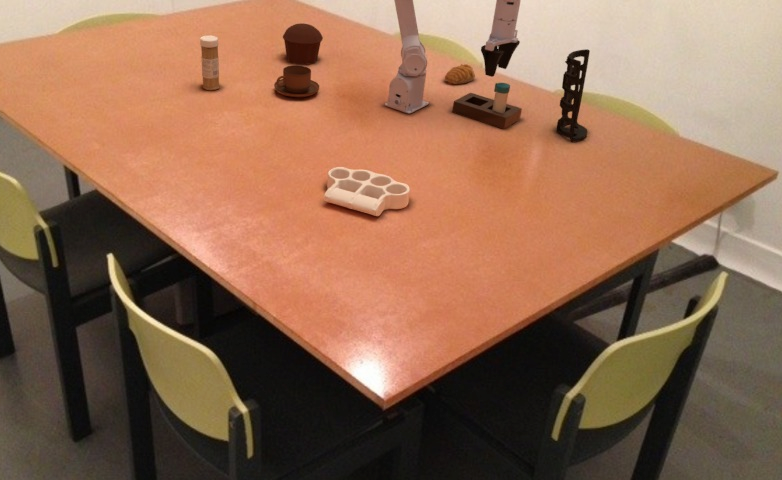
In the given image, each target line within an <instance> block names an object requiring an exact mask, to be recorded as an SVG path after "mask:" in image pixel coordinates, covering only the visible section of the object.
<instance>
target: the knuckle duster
mask: <svg viewBox="0 0 782 480" xmlns="http://www.w3.org/2000/svg"><path fill="white" fill-rule="evenodd" d="M326 185H327V186H326V187H327V190H326V191H325V193H324V194H323V201H324V202H326V203H330V204H333V205H336V206H340V207H343V208H347V209H350V210H354V211H357V212H361V213H365V214H368V215H371V216H374V217H379V216H381V215H382V213H383V212H384V211H385V210H402V209H405V208H406V207H407V206H408V205H409V202H410V192H411V188H410V186H409V185H408V184H407V183H405V182H399V181H397V180H394V178H393V177H392V176H389V175H387V174H384V173H377V172H373V171H371V170H369V169H362V168H361V169H352V168H347V167H345V166H337V167H333V168H331V169H329V171H328V172H327V184H326Z"/></svg>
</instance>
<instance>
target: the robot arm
mask: <svg viewBox="0 0 782 480" xmlns="http://www.w3.org/2000/svg"><path fill="white" fill-rule="evenodd" d="M393 2H394V5H395V6H394V7H395V11H396V17H397V22H398V27H399V34H400V39H401V50H400V56H401V57H400V58H401V64H400V66H398V70H397V74H396V75H395V77H394V78H392V79H391V81H390V83H389V89H388V98H387V102H385V103H384V106H385V107H388V108H391V109H394V110H397V111H399V112H402V113H404V114H409V115H410V114H412V113H414V112H417V111H418V110H420V109H422V108H424V107H426V106H428V105H430V102H428V101H426V100H424V93H425V85H426V78H427V67H428V59H427V57H426V48H425V46H424V44H423V43H422V42H421V40H420V35H419V34H420V33H419V28H418V23H417V17H416V10H415V5H414V0H394V1H393ZM520 6H521V0H496V2H495V6H494V15H493V20H492V25H491V31H490V34H489V36H488V39H487V41H485V44H484V45H482V46H480V52H481V55H482V57H483V62H484V74H485V76H487V77H491V78H493V77H494V76H495V75H496V72H497V69H498V68H500V69H503V70H506V69H507V68H508V66H509V64H510V61H511V58H512V57H513V54H514V52H515V51H516V50H517V48H518V47H519V45H520V43H521V41H520V40H519V38H518V37H517V36H518V31H519V30H518V29H516V27H517V22H518V17H519V12H520Z"/></svg>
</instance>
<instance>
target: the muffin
mask: <svg viewBox="0 0 782 480" xmlns="http://www.w3.org/2000/svg"><path fill="white" fill-rule="evenodd" d="M282 39H283V40H284V47H285V54H286V60H287V61H288V62H289V63H293V64H295V65H310V64H314V63H315V62H317V61H318V57H319V52H320V48H321V43H322V41H323V39H324V36H323V35H322V33H321V32H320V30H319V29H317V28H316V27H315V26H313V25H312V24H309V23H303V22H302V23H301V22H300V23H295V24H293V25H291V26H289V27H288V28H286V29H285V31H284V33H283V35H282Z"/></svg>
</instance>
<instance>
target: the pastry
mask: <svg viewBox="0 0 782 480" xmlns="http://www.w3.org/2000/svg"><path fill="white" fill-rule="evenodd" d="M475 78H476V74H475V71H474V69H473V67H472V66H471V65H469V64H468V63H467V64H460V65H457V66H454V67H452V68H450V69H449V70H448V71H447V72H446V74H445V76H444V80H445V82H448V83H450V84H453V85H460V84H461V85H463V84H467V83H469V82H473V80H474V79H475Z"/></svg>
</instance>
